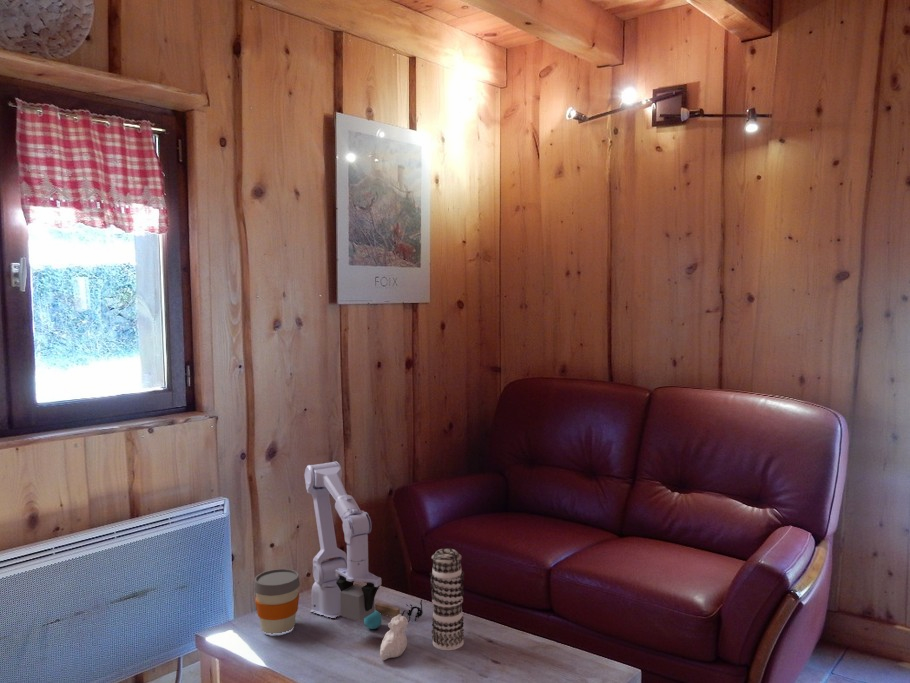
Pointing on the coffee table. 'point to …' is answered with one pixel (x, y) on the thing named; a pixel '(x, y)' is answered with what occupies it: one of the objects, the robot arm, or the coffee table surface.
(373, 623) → the ball
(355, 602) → the grey matte cube
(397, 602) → the coffee table surface
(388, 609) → the stopper bar
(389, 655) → the bust
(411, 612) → the creature
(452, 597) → the decorative candle
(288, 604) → the reusable coffee cup
